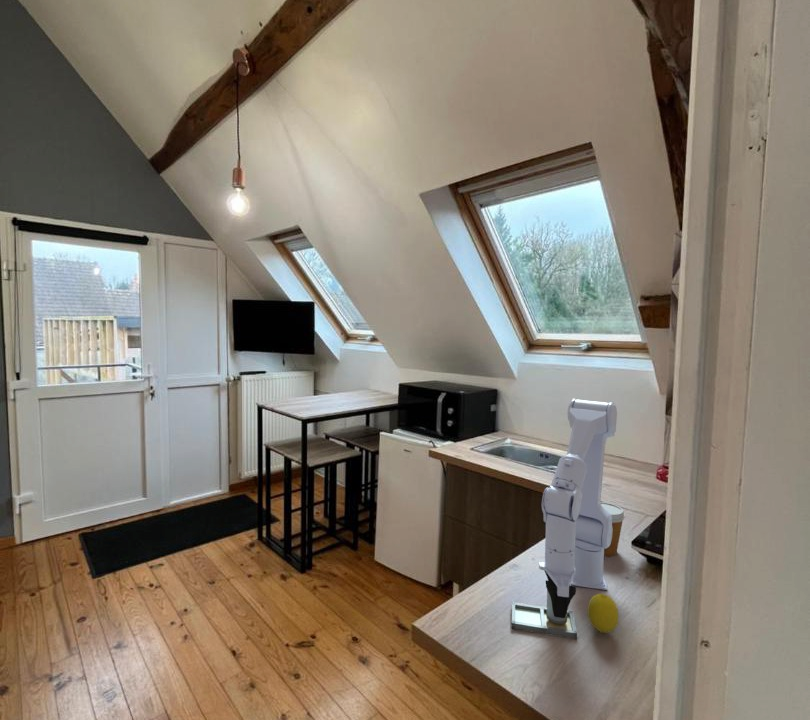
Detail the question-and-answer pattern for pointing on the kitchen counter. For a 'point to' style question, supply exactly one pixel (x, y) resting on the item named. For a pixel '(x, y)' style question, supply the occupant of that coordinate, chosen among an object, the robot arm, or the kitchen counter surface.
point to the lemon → (603, 613)
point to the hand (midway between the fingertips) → (558, 609)
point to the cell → (551, 616)
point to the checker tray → (541, 621)
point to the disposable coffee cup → (614, 526)
